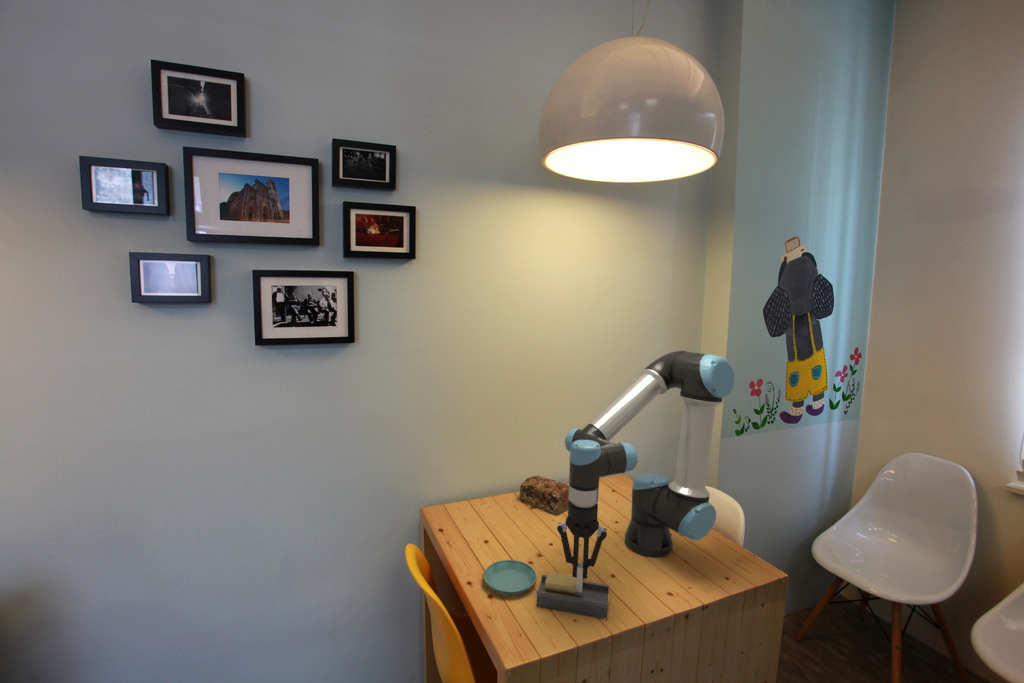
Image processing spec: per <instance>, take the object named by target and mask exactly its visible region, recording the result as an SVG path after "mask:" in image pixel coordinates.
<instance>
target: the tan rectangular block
mask: <svg viewBox="0 0 1024 683" xmlns="http://www.w3.org/2000/svg"><path fill="white" fill-rule="evenodd" d="M546 575H547V577H546V581H545V592H551V593H557V594H562V595H568V596H574V597H576V583H577V578H576V577H573V574H572V575H571V574H566V573H560V572H555V571H554V572H553V571H547V574H546Z"/></svg>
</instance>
